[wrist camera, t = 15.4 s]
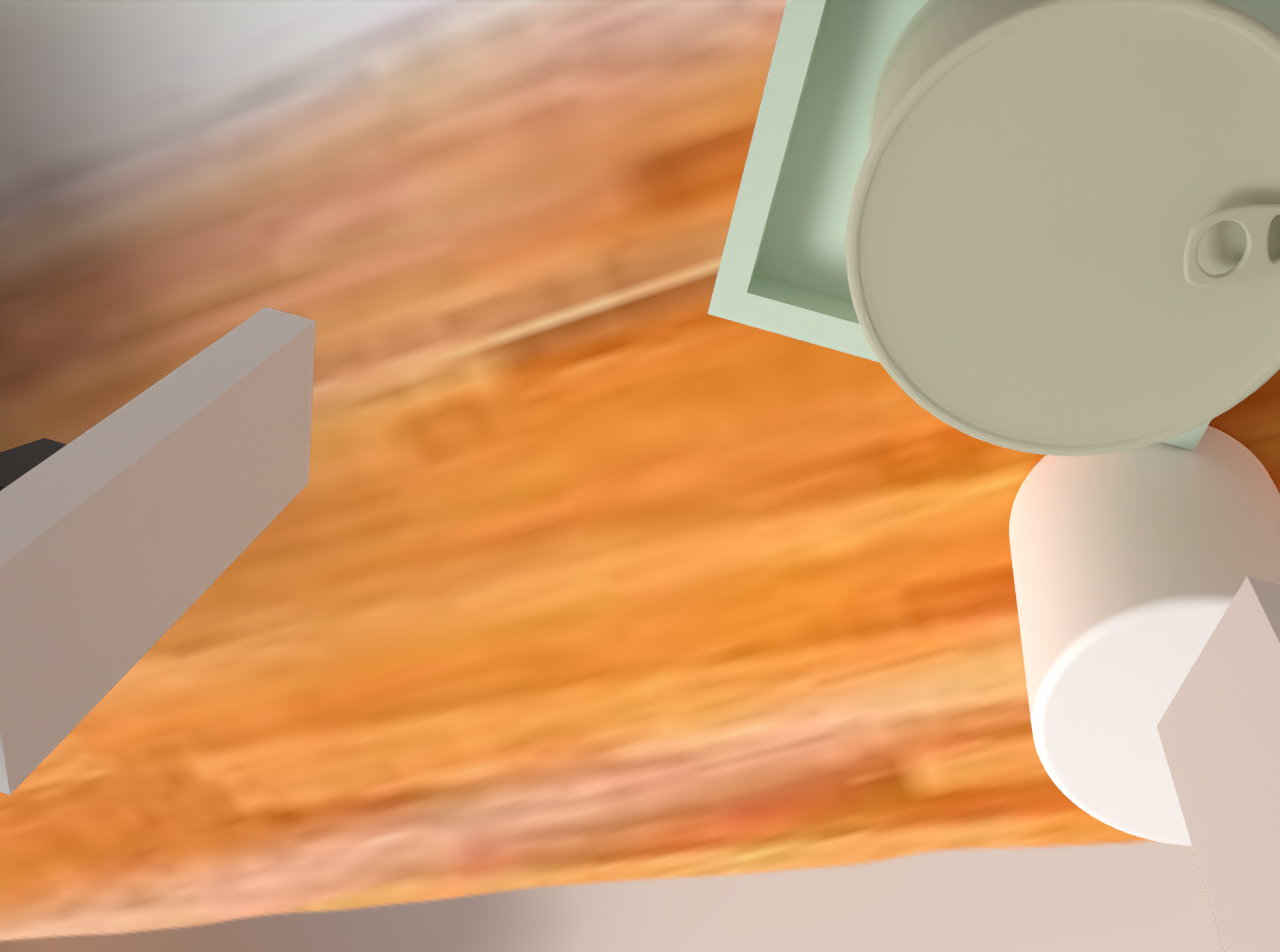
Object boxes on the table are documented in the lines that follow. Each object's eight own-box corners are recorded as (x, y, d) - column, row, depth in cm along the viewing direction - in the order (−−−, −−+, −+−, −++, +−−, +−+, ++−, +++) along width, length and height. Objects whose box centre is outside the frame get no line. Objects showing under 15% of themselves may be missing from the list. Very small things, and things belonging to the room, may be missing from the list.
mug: (1347, 557, 25) (1456, 920, 29) (1238, 375, 34) (1333, 673, 38) (987, 649, 28) (1130, 962, 32) (973, 461, 37) (1087, 727, 41)
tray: (720, 287, 36) (707, 313, 34) (858, -250, 28) (852, -260, 26) (1178, 415, 35) (1194, 450, 32) (1454, -114, 27) (1499, -112, 25)
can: (1205, 270, 32) (1336, 464, 21) (878, 293, 34) (856, 478, 24) (1234, -86, 27) (1413, -54, 17) (859, -29, 30) (822, 28, 20)
